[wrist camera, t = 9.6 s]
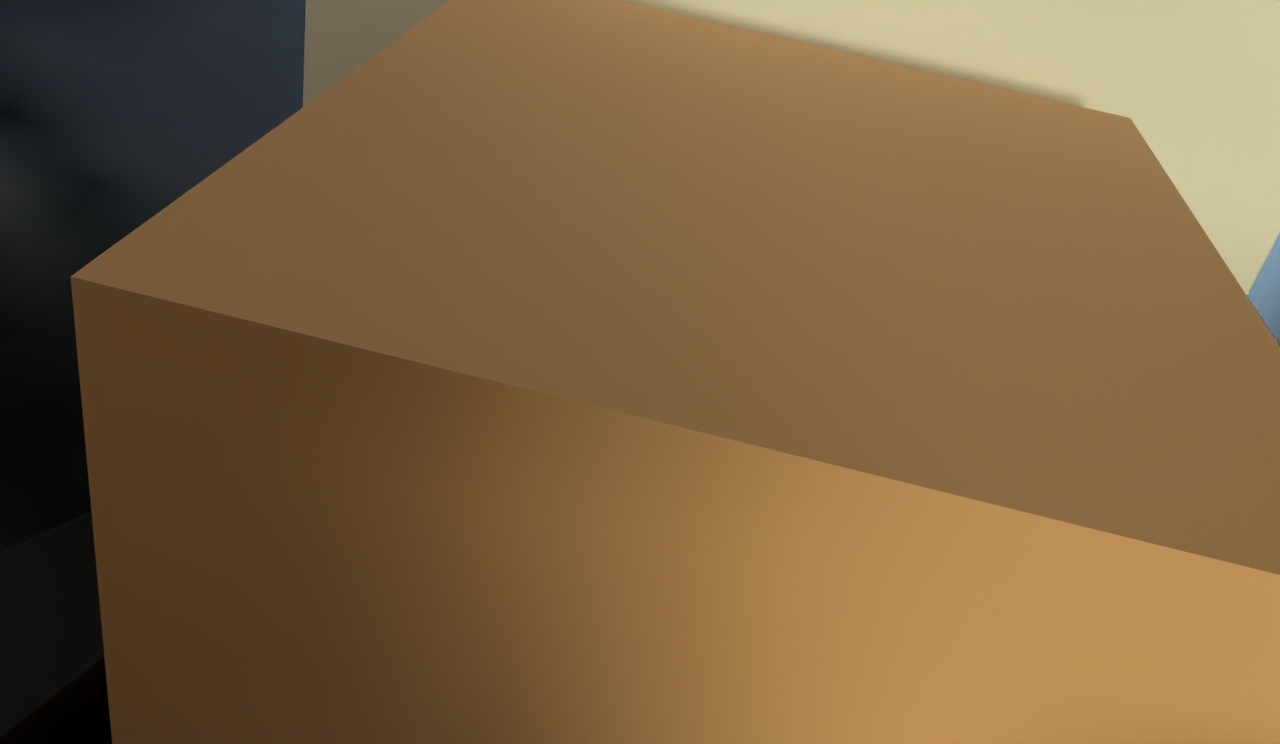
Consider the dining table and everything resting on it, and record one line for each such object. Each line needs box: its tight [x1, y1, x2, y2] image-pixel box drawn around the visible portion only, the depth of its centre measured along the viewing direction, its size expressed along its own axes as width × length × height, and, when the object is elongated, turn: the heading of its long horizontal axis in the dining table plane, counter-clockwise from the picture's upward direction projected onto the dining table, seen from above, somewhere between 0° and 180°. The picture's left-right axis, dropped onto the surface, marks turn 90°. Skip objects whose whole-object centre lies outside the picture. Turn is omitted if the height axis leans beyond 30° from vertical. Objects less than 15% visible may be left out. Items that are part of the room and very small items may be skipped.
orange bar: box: [71, 0, 1280, 744], centre depth 8 cm, size 7×4×5 cm, turn 169°
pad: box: [303, 0, 1280, 295], centre depth 10 cm, size 8×10×1 cm
